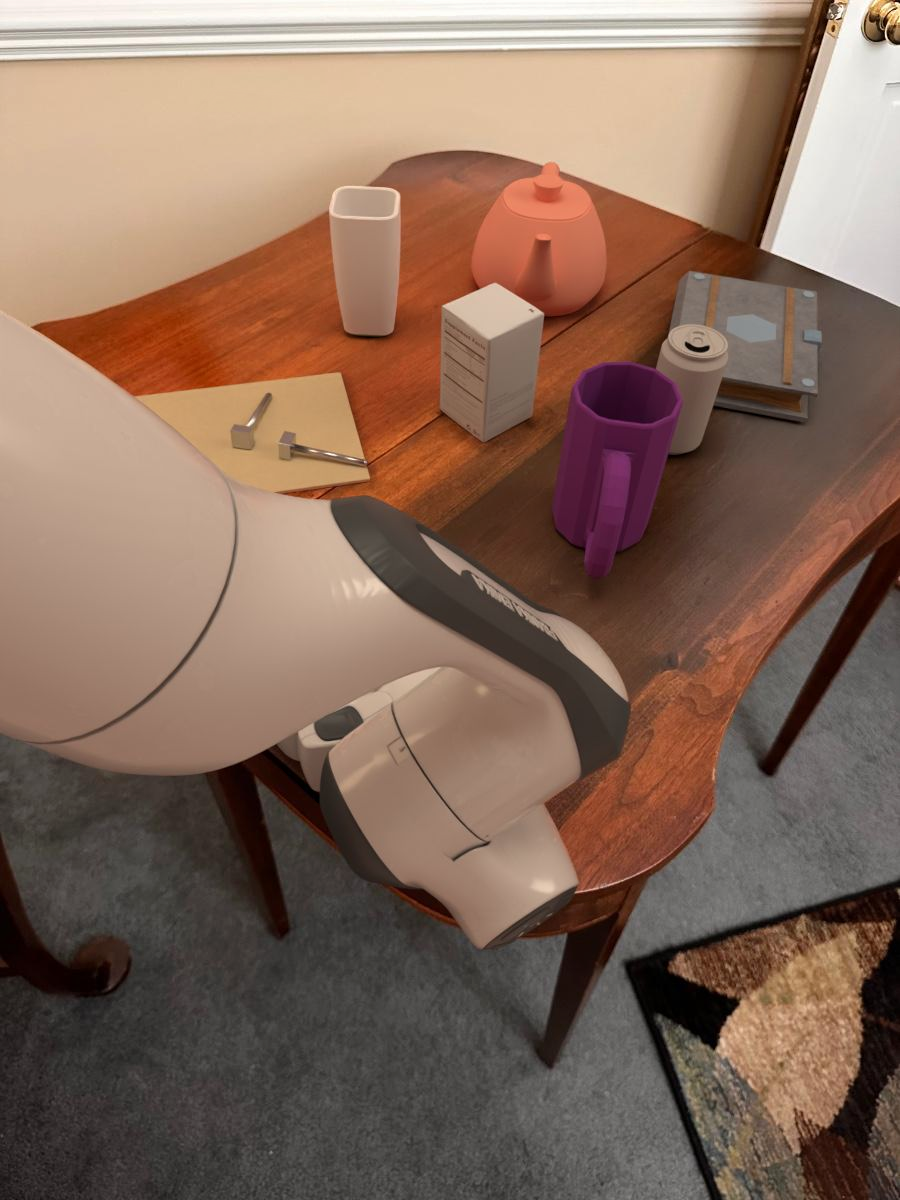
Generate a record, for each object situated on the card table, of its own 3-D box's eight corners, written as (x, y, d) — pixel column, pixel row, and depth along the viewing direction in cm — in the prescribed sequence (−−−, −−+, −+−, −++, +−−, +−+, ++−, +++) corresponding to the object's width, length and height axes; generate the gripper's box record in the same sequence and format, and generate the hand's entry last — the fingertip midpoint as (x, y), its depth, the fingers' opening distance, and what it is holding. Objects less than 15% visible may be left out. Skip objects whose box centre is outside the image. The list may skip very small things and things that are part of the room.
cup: (398, 344, 101) (397, 219, 90) (336, 341, 101) (326, 216, 90) (402, 310, 106) (401, 187, 95) (342, 307, 106) (334, 184, 94)
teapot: (600, 352, 101) (621, 242, 91) (458, 338, 102) (463, 227, 92) (603, 247, 117) (621, 143, 107) (480, 235, 118) (486, 131, 108)
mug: (647, 495, 86) (683, 366, 74) (643, 615, 76) (684, 488, 64) (555, 483, 87) (576, 353, 75) (539, 600, 77) (561, 471, 65)
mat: (118, 517, 82) (117, 514, 81) (117, 401, 93) (116, 398, 92) (370, 481, 86) (370, 478, 86) (340, 374, 97) (340, 371, 97)
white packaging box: (488, 384, 97) (496, 279, 87) (533, 418, 93) (547, 312, 83) (436, 409, 94) (439, 303, 84) (481, 445, 90) (490, 338, 80)
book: (674, 300, 109) (683, 263, 106) (808, 323, 107) (823, 285, 103) (655, 397, 96) (665, 359, 92) (808, 426, 94) (824, 387, 90)
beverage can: (636, 452, 90) (661, 352, 81) (642, 415, 94) (667, 316, 85) (698, 463, 89) (731, 364, 80) (701, 425, 93) (733, 326, 84)
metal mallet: (365, 478, 87) (278, 458, 87) (370, 465, 88) (285, 445, 88) (365, 462, 85) (278, 443, 85) (371, 450, 86) (284, 430, 87)
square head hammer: (259, 384, 93) (229, 430, 86) (277, 387, 92) (249, 433, 86) (261, 400, 94) (232, 447, 88) (279, 403, 94) (251, 450, 88)
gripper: (551, 646, 63) (463, 523, 70) (281, 754, 56) (217, 606, 64) (542, 695, 67) (460, 575, 75) (291, 800, 61) (231, 657, 69)
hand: (346, 590), depth 70 cm, fingers closed on tumbler, 6 cm apart
